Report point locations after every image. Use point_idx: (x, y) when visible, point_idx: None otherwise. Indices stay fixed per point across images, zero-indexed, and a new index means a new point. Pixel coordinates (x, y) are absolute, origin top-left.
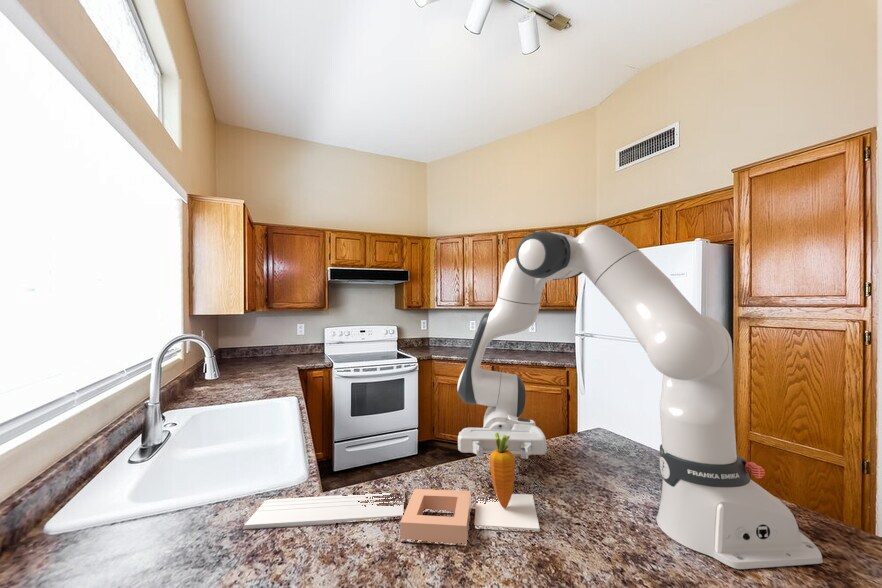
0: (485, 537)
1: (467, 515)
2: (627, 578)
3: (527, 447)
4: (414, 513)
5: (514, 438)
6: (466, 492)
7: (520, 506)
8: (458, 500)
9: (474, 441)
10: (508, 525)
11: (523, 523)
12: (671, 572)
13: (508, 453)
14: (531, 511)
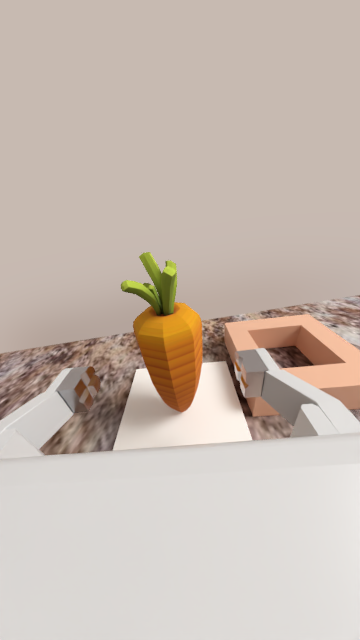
0: (207, 356)
1: (230, 335)
2: (90, 339)
3: (40, 394)
4: (307, 326)
5: (34, 463)
6: None
7: (149, 420)
8: None
9: (347, 427)
10: None
11: None
12: (48, 350)
13: (147, 309)
14: (133, 406)
